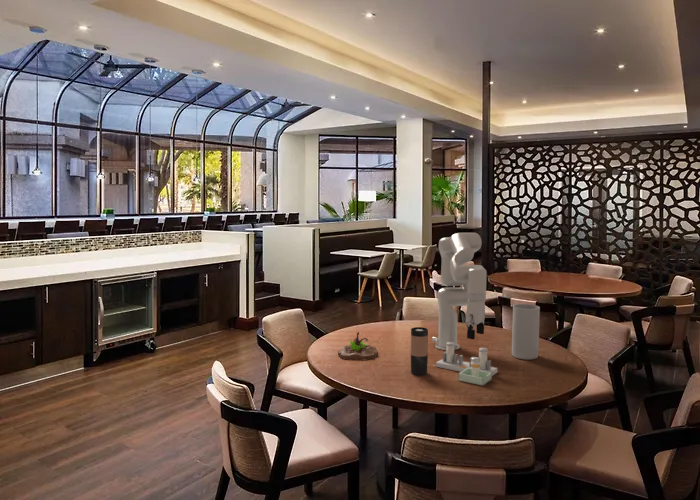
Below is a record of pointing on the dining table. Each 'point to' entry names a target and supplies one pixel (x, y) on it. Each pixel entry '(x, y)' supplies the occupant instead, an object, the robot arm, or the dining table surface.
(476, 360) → the fuse marked
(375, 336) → the dining table surface
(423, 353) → the travel mug
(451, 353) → the cylinder
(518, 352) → the cylinder vase
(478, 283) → the robot arm
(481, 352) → the fuse right
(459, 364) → the holder
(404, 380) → the dining table surface
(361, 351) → the plant
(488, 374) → the tray
